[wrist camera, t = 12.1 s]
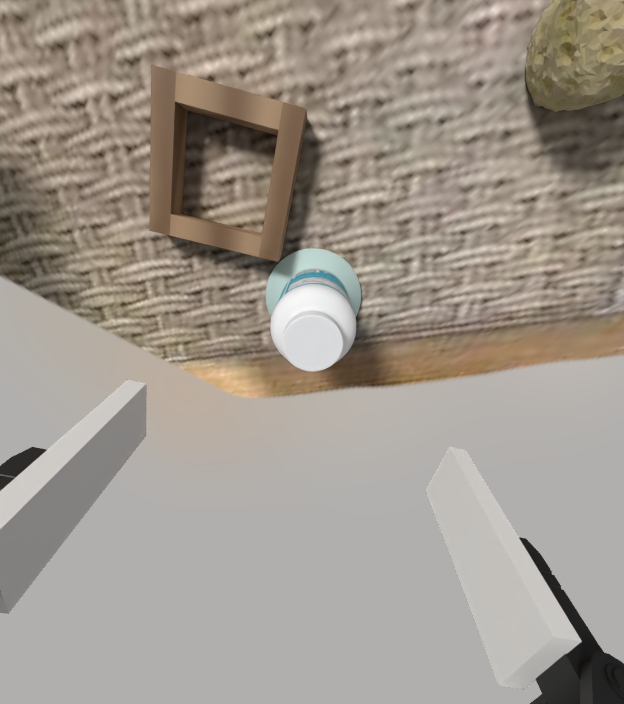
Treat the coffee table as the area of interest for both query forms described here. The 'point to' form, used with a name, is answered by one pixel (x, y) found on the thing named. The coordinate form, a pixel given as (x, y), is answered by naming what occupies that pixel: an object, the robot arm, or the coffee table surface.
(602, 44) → the decorative object
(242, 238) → the walnut frame
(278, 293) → the coaster
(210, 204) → the coffee table surface
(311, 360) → the pill bottle
